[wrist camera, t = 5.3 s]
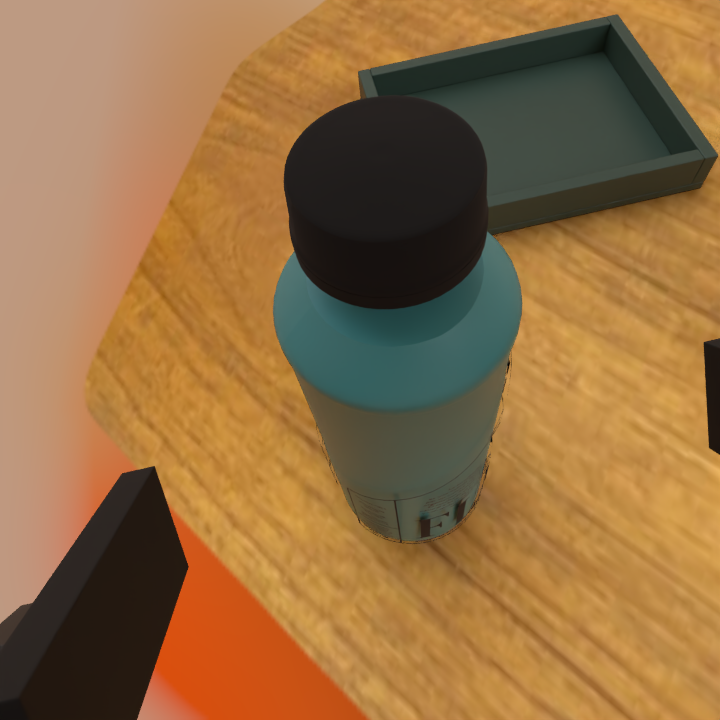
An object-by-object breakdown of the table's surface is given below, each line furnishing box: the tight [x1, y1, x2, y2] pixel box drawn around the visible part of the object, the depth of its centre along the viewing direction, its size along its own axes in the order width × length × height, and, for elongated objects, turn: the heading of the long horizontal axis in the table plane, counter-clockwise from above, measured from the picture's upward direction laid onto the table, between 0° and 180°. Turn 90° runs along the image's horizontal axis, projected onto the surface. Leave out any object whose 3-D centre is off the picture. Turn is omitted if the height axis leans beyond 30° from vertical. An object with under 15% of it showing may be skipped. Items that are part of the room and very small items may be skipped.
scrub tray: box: [358, 14, 718, 235], centre depth 37 cm, size 18×14×2 cm
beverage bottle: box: [273, 95, 522, 544], centre depth 20 cm, size 6×7×20 cm
